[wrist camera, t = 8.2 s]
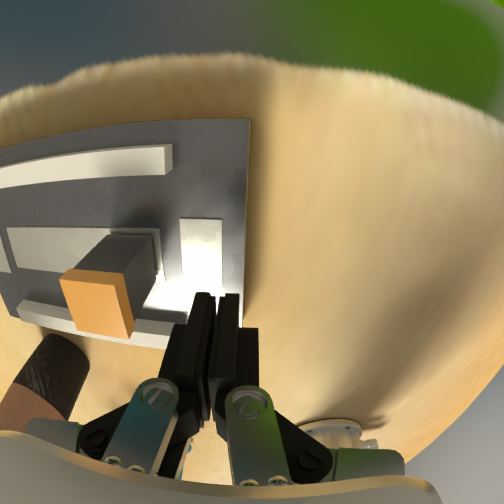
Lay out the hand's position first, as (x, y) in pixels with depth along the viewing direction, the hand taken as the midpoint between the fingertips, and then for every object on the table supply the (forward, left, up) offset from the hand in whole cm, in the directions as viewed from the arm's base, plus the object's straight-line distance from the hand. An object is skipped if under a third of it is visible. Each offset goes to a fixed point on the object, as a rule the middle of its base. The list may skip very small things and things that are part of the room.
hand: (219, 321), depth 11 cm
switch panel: (+11, +1, -10) cm, 15 cm away
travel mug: (+21, +18, -11) cm, 29 cm away
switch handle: (+6, +1, -6) cm, 9 cm away
